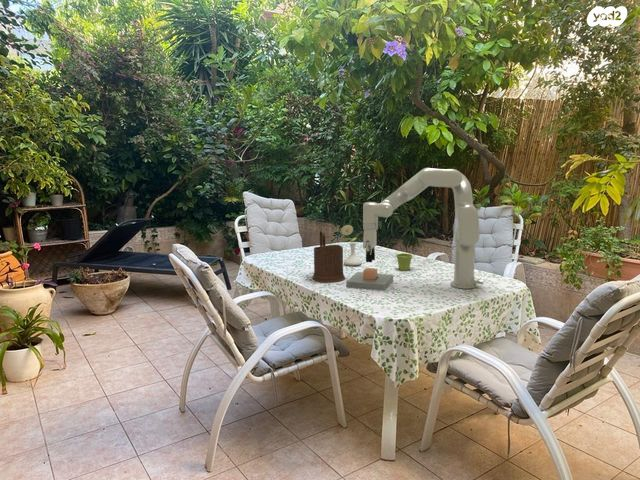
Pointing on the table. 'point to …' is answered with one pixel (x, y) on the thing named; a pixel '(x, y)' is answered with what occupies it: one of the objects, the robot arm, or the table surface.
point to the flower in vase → (352, 258)
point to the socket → (370, 281)
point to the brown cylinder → (328, 262)
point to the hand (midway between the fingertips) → (370, 260)
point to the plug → (370, 273)
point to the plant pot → (404, 261)
